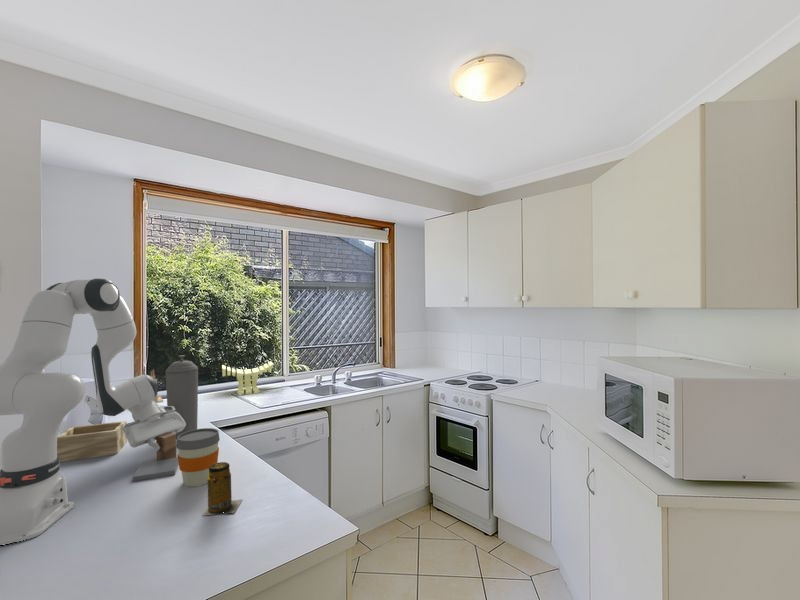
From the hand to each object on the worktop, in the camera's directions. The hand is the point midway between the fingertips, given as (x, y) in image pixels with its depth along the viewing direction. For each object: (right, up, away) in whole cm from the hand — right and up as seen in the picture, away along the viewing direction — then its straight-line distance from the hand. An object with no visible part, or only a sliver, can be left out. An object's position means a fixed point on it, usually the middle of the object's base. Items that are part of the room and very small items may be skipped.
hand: (167, 446), depth 143 cm
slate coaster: (+2, -5, -9) cm, 11 cm away
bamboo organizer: (-34, -5, +9) cm, 36 cm away
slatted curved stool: (-12, -5, +108) cm, 109 cm away
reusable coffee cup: (+21, -5, -17) cm, 27 cm away
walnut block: (0, -5, 0) cm, 5 cm away
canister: (-9, -5, +27) cm, 29 cm away
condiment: (+36, -5, -34) cm, 50 cm away
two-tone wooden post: (-37, -6, +47) cm, 60 cm away
